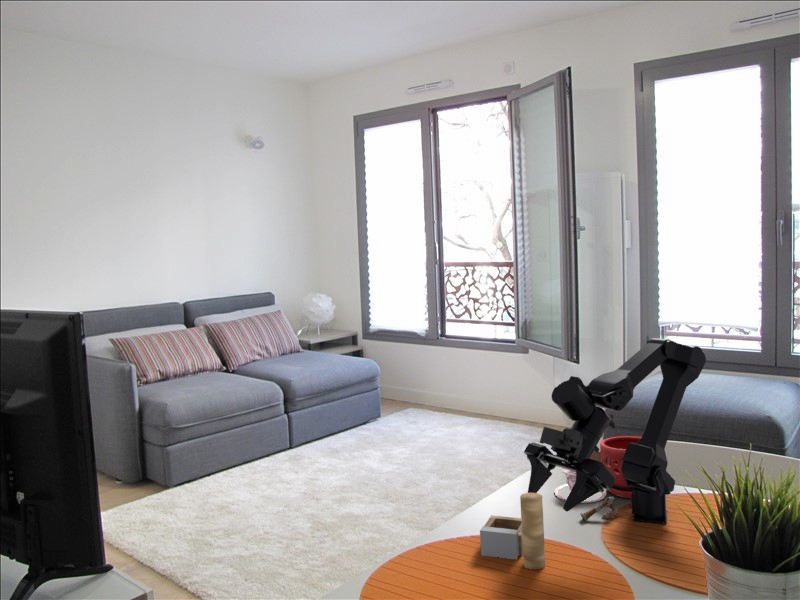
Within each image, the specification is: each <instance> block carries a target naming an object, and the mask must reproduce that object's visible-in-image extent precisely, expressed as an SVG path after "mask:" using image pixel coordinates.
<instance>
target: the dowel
mask: <svg viewBox="0 0 800 600" xmlns="http://www.w3.org/2000/svg"><path fill="white" fill-rule="evenodd" d="M519 498H520V499H519V501H520V518H521V523H522V544H523V555H522V563H523V564H524V565H523V567H524V566H525V568H526V567H527V568H526V569H528V568H530V569H529V570H532V569H539V570H542V569H544V568H545V567H546V552H545V551H546V550H545V549H546V548H545V530H544V527H545V526H544V510H543V509H544V507H543V506H544V505H543V504H544V503H543V495H542V494H540V493H538V492H537V493H528V492H524V493H523V494H520V497H519ZM543 567H544V568H543ZM541 568H542V569H541Z"/></svg>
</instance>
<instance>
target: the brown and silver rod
mask: <svg viewBox="0 0 800 600" xmlns="http://www.w3.org/2000/svg"><path fill="white" fill-rule="evenodd" d="M614 501H615V497H614V496H609V497H608V496H606V497H605V499H604V501H602V502H601V503H598V504H597V505H595V506H594V507H593V508H592V509H590V510H588V511H585V512H579V514H580V516H581V519H582V520H584V521H585V523H588V522H589V521H588V520H589V519H590V518H591V517H593V516H594V515H596V514H597V513H599V512H600V511H602V510H603V509H604V508H605V507H607V508H609V509H610V510H611V511H609V512H608V511H606V512H604V513H602V516H601V519H603V520H604V519H606V518H607V519H608V518H612V515H613V513H614V515H615V516H619V513H618V511H617V509H616V507H614V504H613V503H614Z"/></svg>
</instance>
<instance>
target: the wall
mask: <svg viewBox="0 0 800 600" xmlns="http://www.w3.org/2000/svg"><path fill="white" fill-rule="evenodd" d="M479 536H480V542H479V543H480V556H482V557H489V558H490V557H492V558H497V557H499V558H498V559H505V558H506V559H507V560H514V559H516V561H517V560H518V559H519V557H520V555H519V537H518V530H513V529H504V528H494V527H485V526H484V525H483V526H482V527H481V528H480V530H479ZM518 556H519V557H518ZM517 558H518V559H517Z"/></svg>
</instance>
